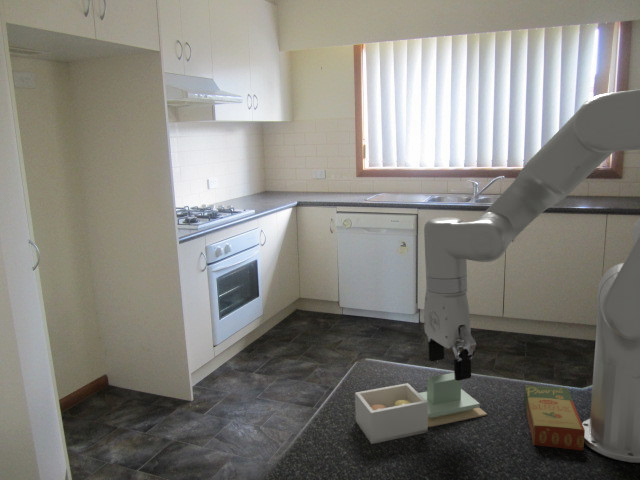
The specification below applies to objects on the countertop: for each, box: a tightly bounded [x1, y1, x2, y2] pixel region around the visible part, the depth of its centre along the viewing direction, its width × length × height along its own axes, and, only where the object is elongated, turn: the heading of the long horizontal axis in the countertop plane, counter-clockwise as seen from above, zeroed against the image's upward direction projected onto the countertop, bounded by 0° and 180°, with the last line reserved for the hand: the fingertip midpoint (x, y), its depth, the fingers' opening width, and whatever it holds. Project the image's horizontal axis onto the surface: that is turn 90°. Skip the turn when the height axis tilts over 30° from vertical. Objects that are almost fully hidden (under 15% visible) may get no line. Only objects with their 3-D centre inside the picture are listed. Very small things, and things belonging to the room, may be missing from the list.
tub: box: [354, 382, 429, 445], centre depth 98 cm, size 11×8×6 cm
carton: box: [523, 384, 585, 451], centre depth 98 cm, size 8×16×4 cm, turn 165°
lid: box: [418, 372, 481, 418], centre depth 104 cm, size 11×8×6 cm
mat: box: [428, 407, 488, 428], centre depth 105 cm, size 13×10×1 cm
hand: (449, 368), depth 103 cm, fingers open, 9 cm apart
